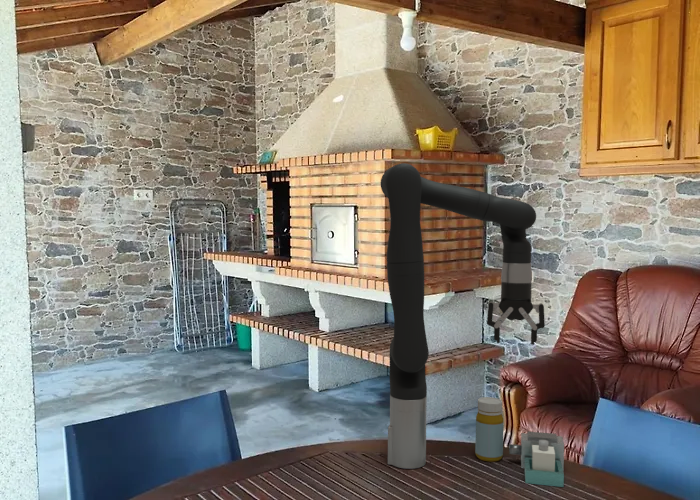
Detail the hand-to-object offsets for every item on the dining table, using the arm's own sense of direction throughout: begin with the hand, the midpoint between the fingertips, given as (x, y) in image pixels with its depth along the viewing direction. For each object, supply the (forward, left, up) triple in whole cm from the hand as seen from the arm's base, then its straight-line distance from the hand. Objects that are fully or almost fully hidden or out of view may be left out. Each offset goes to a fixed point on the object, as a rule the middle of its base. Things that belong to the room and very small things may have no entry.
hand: (515, 343), depth 161 cm
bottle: (-6, -1, -30) cm, 31 cm away
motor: (+5, -8, -30) cm, 32 cm away
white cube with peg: (+7, -11, -30) cm, 33 cm away
